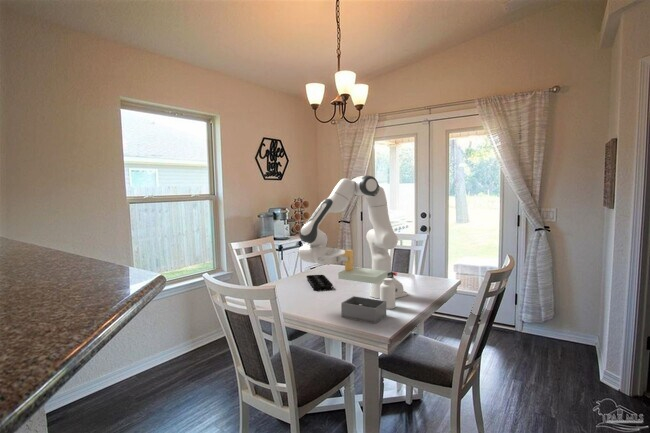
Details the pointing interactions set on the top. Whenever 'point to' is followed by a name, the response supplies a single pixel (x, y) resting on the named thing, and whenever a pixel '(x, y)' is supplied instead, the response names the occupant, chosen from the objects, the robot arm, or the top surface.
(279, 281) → the top surface
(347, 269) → the lid
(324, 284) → the black compartment tray
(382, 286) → the pill bottle
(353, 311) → the tub
